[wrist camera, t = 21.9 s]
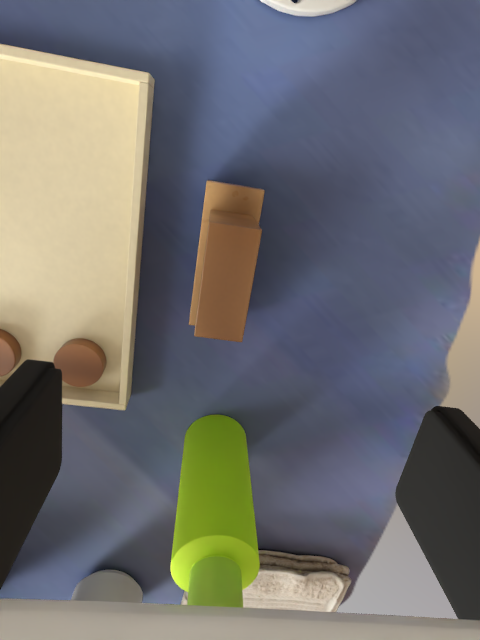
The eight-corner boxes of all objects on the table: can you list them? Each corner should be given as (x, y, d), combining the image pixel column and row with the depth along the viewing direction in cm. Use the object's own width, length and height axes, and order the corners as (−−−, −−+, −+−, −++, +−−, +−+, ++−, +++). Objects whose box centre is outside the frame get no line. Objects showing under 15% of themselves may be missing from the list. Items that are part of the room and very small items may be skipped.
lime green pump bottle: (191, 476, 40) (170, 748, 22) (180, 418, 38) (145, 671, 19) (250, 468, 40) (279, 733, 22) (242, 410, 38) (268, 655, 19)
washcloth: (321, 623, 50) (327, 652, 47) (176, 611, 48) (173, 641, 45) (350, 555, 46) (359, 582, 43) (193, 539, 43) (191, 566, 40)
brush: (190, 311, 34) (182, 361, 25) (207, 178, 30) (204, 186, 22) (238, 317, 34) (245, 368, 26) (260, 187, 30) (277, 198, 22)
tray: (-87, 32, 26) (-114, 21, 24) (154, 79, 27) (149, 72, 25) (-49, 376, 35) (-66, 390, 33) (130, 395, 36) (125, 410, 34)
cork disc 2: (57, 335, 33) (52, 341, 32) (107, 340, 34) (103, 346, 33) (58, 377, 35) (53, 385, 34) (106, 382, 35) (102, 389, 34)
